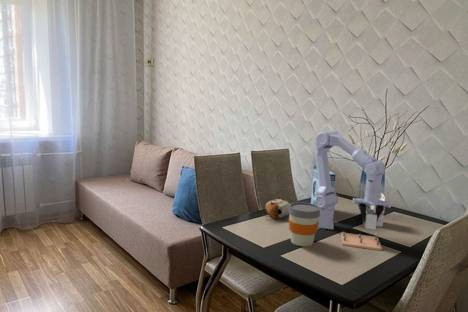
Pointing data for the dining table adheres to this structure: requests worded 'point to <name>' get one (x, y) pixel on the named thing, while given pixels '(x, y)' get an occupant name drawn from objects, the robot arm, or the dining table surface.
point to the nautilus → (277, 208)
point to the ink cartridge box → (381, 217)
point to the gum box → (316, 184)
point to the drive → (370, 219)
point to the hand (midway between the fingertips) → (369, 221)
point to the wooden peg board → (360, 241)
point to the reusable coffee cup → (303, 223)
